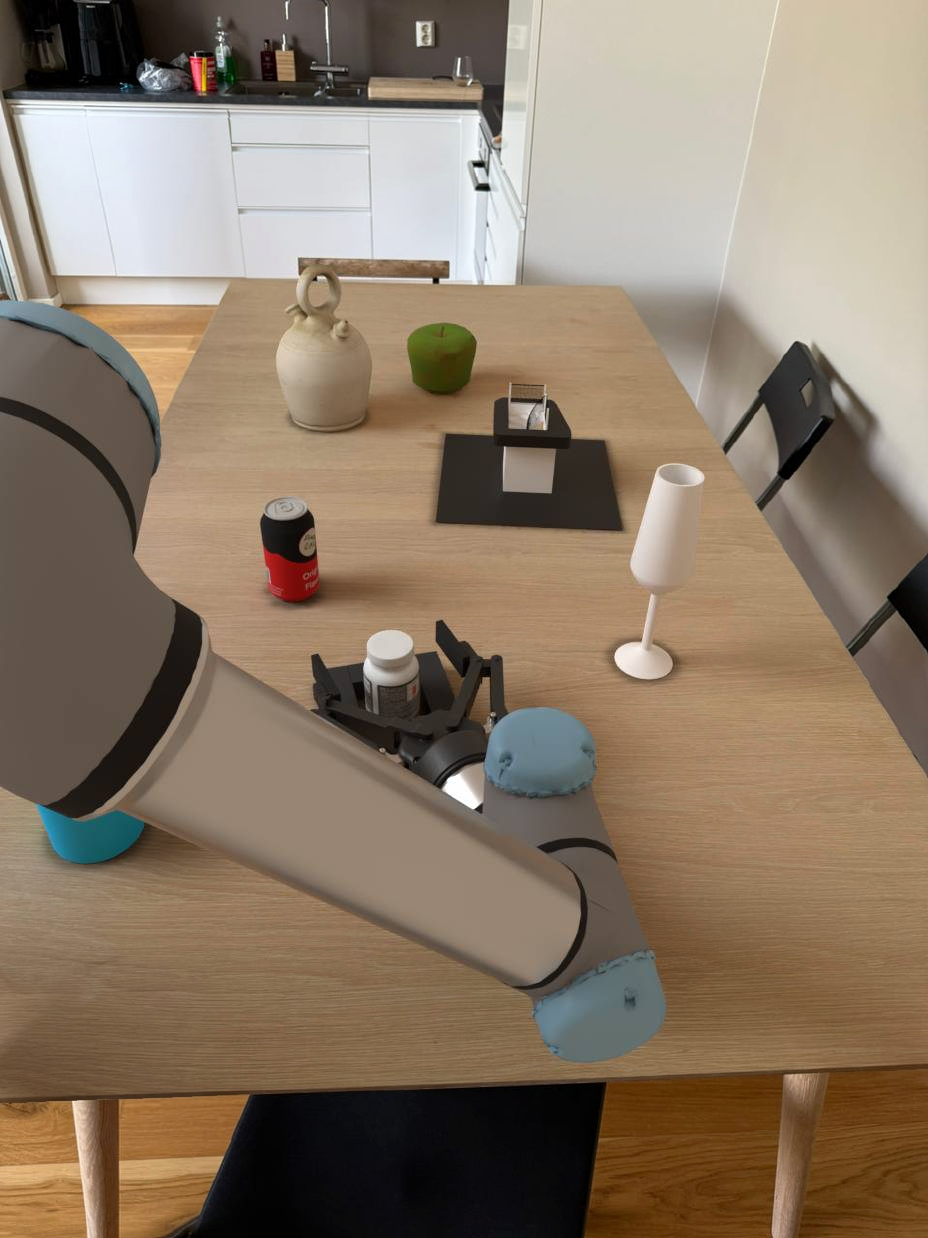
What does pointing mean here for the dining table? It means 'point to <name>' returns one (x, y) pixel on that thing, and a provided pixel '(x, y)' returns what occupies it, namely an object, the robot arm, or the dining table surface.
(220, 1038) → the dining table surface
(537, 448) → the black-topped pedestal
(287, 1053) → the dining table surface
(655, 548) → the champagne flute
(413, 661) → the pill bottle
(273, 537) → the beverage can
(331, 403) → the jug
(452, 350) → the apple
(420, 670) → the dock pad
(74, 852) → the mug
